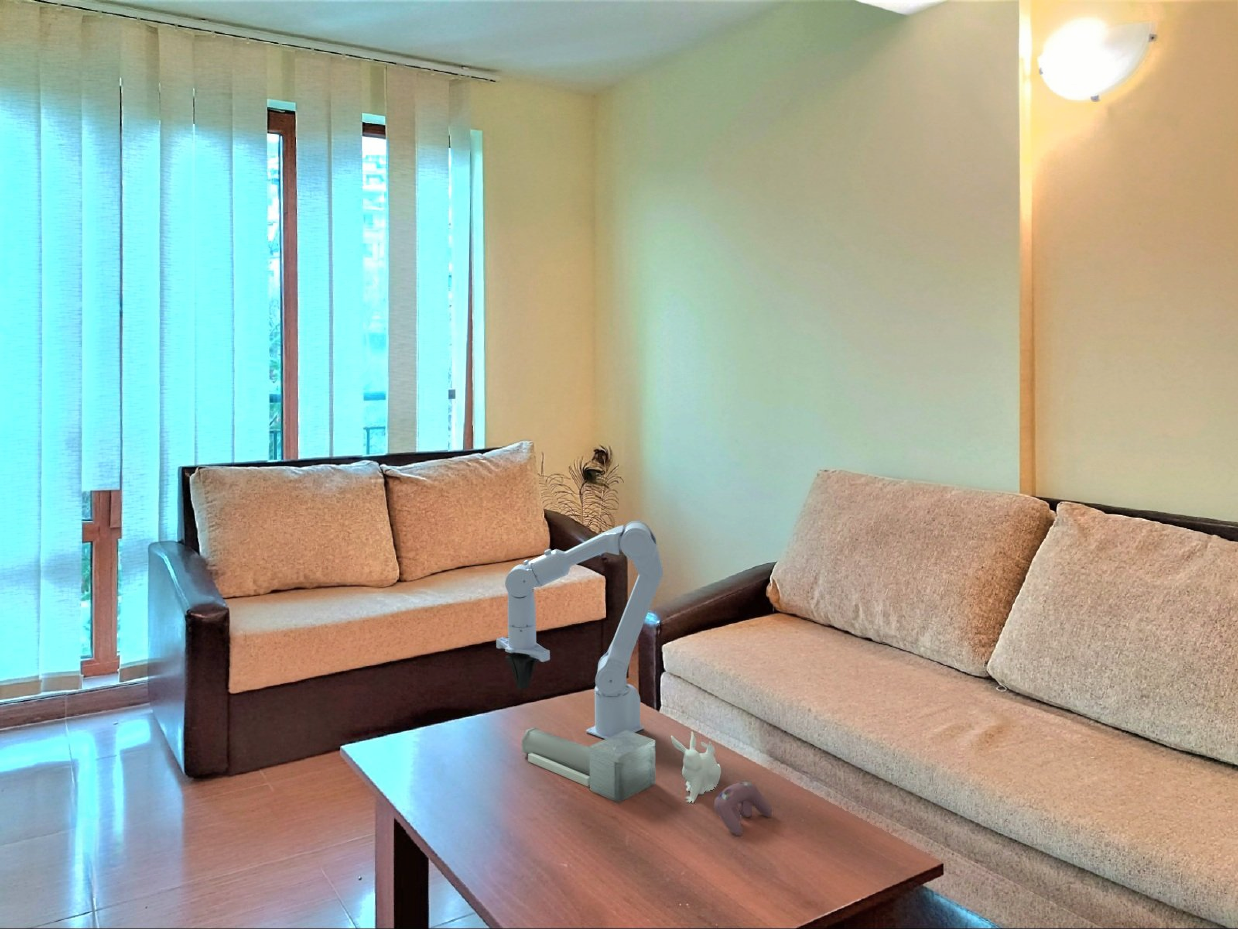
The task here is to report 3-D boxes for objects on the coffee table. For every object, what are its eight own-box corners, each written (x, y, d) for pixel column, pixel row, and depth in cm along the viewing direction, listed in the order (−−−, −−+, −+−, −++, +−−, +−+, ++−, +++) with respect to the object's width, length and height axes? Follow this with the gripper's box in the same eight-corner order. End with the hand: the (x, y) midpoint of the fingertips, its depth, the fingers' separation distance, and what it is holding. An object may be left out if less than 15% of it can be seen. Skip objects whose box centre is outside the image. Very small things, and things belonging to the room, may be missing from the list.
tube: (642, 760, 164) (542, 727, 179) (625, 761, 160) (524, 726, 175) (636, 790, 163) (536, 754, 179) (619, 792, 159) (518, 754, 175)
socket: (626, 772, 168) (626, 730, 167) (655, 783, 163) (655, 740, 162) (589, 790, 161) (589, 746, 160) (618, 802, 156) (618, 757, 155)
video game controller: (756, 818, 153) (741, 777, 155) (776, 814, 150) (761, 773, 152) (720, 840, 146) (705, 796, 148) (740, 836, 143) (725, 792, 145)
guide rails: (559, 748, 179) (558, 741, 179) (617, 771, 168) (617, 764, 168) (528, 761, 173) (527, 754, 173) (587, 786, 162) (587, 779, 162)
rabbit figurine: (691, 805, 155) (691, 750, 154) (657, 792, 160) (657, 739, 159) (731, 781, 164) (731, 730, 163) (697, 770, 169) (697, 720, 168)
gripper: (484, 621, 187) (485, 684, 188) (530, 634, 177) (532, 701, 179) (510, 614, 192) (511, 676, 194) (556, 627, 182) (558, 692, 184)
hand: (523, 687), depth 186 cm, fingers closed
